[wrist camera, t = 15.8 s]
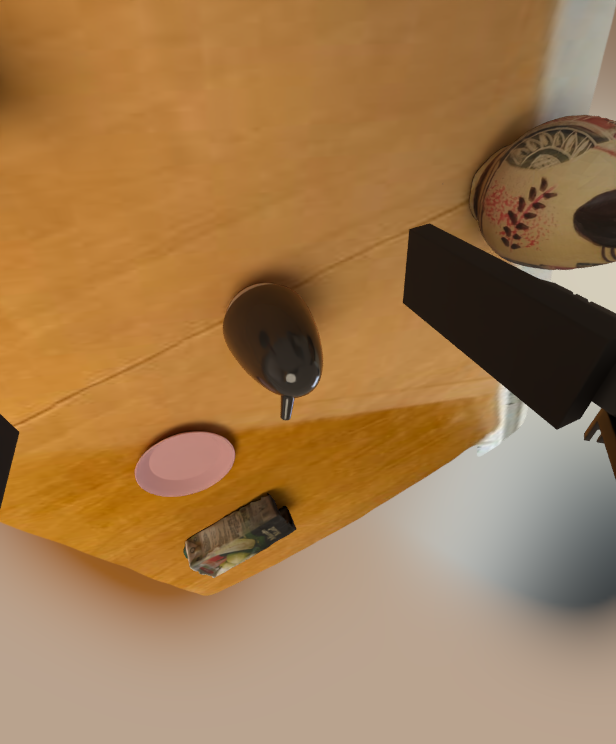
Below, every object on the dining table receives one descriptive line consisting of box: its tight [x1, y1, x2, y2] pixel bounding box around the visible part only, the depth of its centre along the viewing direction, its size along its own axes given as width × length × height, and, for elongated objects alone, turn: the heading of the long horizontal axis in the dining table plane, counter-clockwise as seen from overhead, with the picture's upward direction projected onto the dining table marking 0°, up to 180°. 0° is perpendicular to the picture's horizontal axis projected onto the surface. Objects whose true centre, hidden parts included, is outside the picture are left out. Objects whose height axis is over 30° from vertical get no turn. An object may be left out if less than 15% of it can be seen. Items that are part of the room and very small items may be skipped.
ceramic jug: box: [469, 115, 616, 270], centre depth 36 cm, size 17×15×30 cm
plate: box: [135, 432, 235, 497], centre depth 55 cm, size 14×14×2 cm
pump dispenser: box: [223, 283, 323, 420], centre depth 39 cm, size 10×10×15 cm
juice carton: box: [184, 493, 296, 578], centre depth 71 cm, size 20×10×6 cm, turn 112°
